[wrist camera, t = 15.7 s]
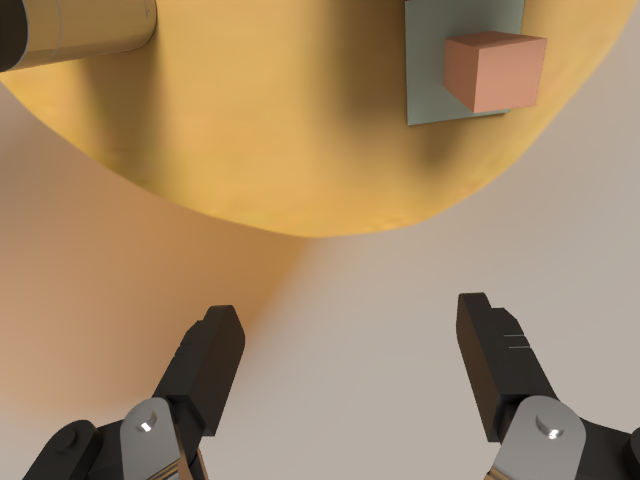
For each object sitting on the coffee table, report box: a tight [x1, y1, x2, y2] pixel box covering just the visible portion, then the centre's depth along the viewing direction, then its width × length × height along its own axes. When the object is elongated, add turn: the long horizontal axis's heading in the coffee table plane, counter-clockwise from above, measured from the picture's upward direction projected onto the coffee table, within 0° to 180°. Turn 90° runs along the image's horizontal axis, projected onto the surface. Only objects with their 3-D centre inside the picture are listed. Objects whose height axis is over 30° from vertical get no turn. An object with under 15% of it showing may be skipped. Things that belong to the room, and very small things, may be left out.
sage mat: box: [405, 0, 525, 126], centre depth 36 cm, size 11×12×1 cm
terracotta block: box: [443, 31, 547, 113], centre depth 30 cm, size 4×4×12 cm
